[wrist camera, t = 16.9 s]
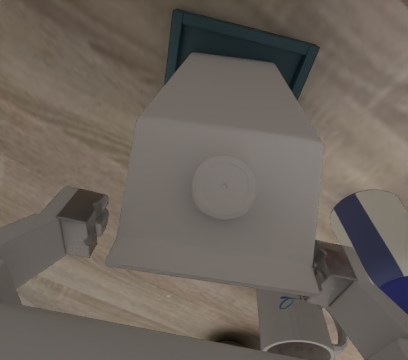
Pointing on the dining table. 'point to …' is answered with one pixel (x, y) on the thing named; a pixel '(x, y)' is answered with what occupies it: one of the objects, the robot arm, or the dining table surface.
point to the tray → (238, 46)
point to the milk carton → (223, 180)
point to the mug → (295, 327)
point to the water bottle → (377, 239)
